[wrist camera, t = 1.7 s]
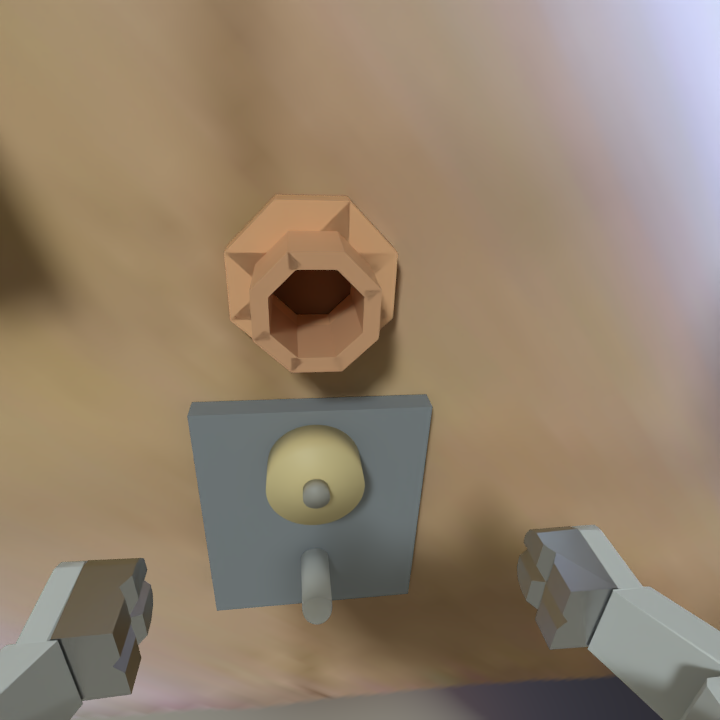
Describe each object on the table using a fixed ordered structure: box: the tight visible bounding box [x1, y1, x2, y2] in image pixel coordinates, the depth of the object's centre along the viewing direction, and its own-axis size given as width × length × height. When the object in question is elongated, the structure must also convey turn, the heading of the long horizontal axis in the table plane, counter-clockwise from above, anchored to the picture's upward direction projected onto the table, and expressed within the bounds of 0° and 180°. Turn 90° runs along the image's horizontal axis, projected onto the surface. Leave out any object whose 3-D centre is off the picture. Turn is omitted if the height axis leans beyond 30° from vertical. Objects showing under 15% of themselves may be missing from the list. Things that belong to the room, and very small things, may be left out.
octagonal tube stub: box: [224, 195, 398, 373], centre depth 25 cm, size 9×9×6 cm
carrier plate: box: [187, 394, 432, 624], centre depth 32 cm, size 15×18×6 cm
